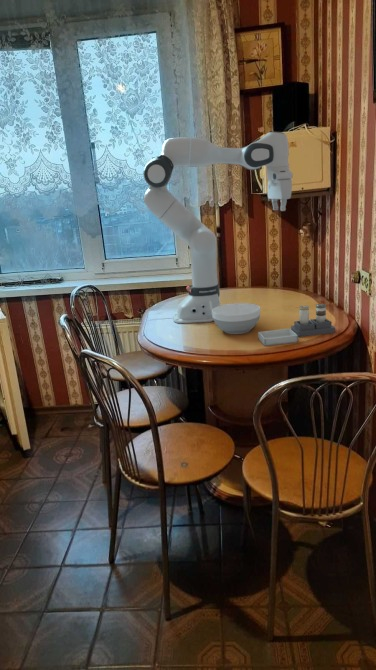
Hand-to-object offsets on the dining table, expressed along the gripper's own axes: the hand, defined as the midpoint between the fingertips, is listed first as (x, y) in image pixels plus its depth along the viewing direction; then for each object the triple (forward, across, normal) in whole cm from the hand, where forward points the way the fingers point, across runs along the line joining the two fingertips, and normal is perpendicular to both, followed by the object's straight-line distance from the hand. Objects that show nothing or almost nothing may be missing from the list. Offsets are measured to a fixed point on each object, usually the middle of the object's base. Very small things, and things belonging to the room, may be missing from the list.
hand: (279, 210), depth 192 cm
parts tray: (+43, +36, -14) cm, 58 cm away
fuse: (+41, +31, -2) cm, 52 cm away
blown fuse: (+41, +31, +5) cm, 52 cm away
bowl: (+43, +18, -24) cm, 53 cm away
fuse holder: (+43, +31, +1) cm, 53 cm away
